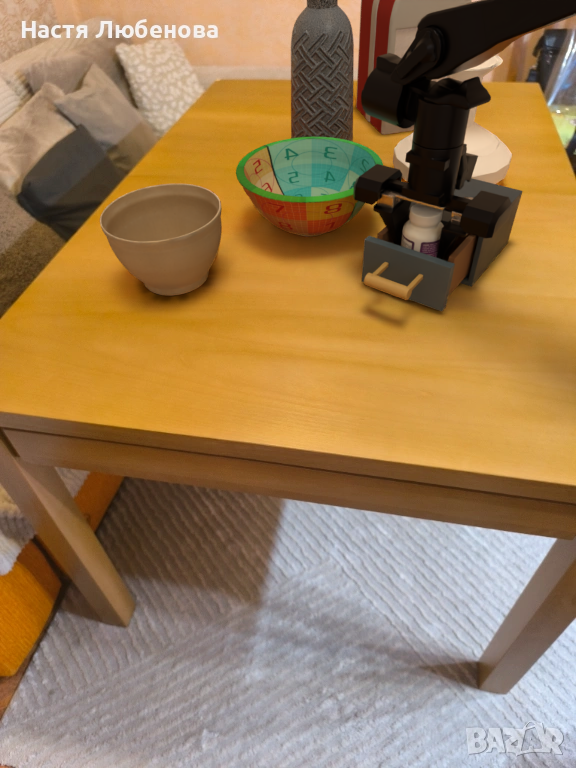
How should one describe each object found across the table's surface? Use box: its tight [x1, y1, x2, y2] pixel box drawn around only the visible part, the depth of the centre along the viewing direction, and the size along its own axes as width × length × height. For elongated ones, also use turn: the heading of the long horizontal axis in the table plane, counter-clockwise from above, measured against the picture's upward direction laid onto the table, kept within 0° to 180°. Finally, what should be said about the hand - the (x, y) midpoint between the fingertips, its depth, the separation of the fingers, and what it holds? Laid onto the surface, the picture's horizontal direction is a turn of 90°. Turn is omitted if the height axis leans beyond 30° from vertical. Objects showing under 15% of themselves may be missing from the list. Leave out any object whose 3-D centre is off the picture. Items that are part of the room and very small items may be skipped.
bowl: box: [235, 137, 384, 237], centre depth 84 cm, size 22×22×10 cm
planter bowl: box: [99, 183, 223, 296], centre depth 75 cm, size 16×16×11 cm
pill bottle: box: [401, 203, 444, 257], centre depth 70 cm, size 5×5×10 cm
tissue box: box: [355, 0, 473, 135], centre depth 109 cm, size 17×18×27 cm
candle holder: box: [392, 54, 513, 184], centre depth 89 cm, size 20×20×19 cm
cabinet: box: [408, 178, 524, 288], centre depth 77 cm, size 13×13×8 cm
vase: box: [290, 0, 355, 142], centre depth 96 cm, size 12×12×28 cm
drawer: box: [361, 215, 479, 312], centre depth 71 cm, size 17×12×7 cm
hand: (419, 258), depth 71 cm, fingers closed on pill bottle, 5 cm apart
